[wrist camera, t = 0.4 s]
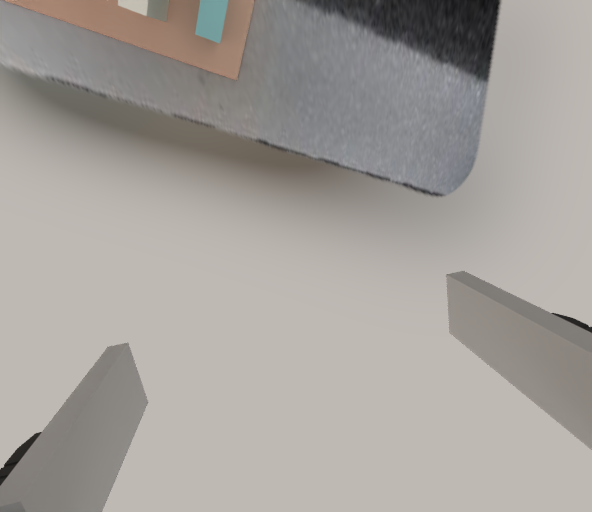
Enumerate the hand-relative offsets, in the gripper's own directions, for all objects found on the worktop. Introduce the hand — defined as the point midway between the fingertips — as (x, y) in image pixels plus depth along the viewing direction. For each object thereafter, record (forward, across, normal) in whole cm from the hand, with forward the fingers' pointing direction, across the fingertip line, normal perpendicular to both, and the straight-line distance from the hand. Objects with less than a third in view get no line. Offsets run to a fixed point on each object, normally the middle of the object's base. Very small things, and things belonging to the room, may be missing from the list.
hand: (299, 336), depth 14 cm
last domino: (+22, -1, +20) cm, 30 cm away
